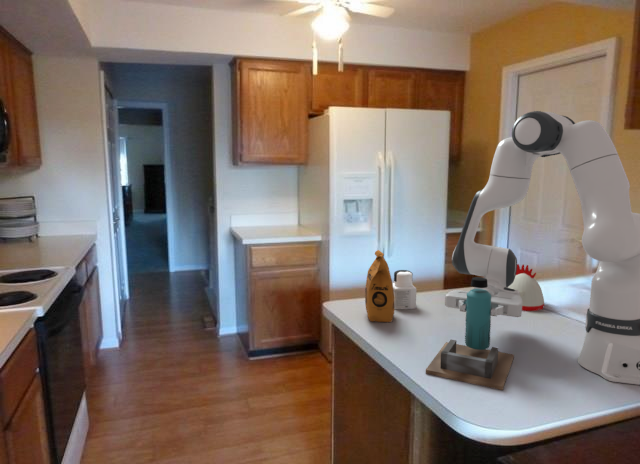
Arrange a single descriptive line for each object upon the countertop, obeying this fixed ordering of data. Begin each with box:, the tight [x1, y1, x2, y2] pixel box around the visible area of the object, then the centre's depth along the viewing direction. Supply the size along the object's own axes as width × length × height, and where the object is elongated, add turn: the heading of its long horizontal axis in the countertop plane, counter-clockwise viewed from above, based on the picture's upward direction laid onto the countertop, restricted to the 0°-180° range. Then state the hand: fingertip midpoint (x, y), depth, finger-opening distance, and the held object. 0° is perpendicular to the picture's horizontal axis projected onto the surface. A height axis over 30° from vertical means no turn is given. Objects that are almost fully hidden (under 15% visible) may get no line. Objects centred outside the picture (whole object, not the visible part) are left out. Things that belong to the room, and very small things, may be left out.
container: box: [392, 269, 417, 310], centre depth 167 cm, size 8×8×13 cm
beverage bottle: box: [464, 276, 492, 350], centre depth 123 cm, size 6×7×20 cm
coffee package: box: [364, 249, 395, 323], centre depth 155 cm, size 10×12×22 cm
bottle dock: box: [425, 339, 515, 391], centre depth 119 cm, size 18×20×5 cm
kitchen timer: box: [508, 263, 545, 312], centre depth 168 cm, size 14×14×15 cm
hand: (477, 311), depth 122 cm, fingers closed on beverage bottle, 6 cm apart
